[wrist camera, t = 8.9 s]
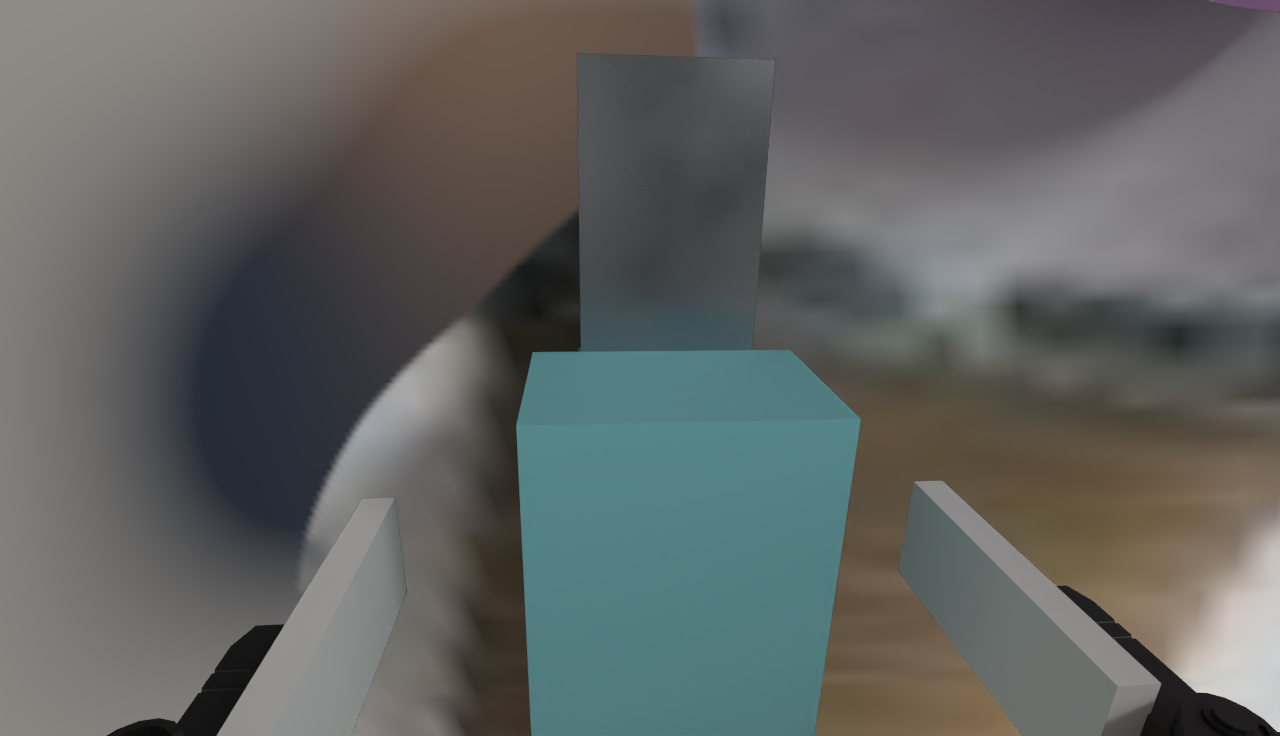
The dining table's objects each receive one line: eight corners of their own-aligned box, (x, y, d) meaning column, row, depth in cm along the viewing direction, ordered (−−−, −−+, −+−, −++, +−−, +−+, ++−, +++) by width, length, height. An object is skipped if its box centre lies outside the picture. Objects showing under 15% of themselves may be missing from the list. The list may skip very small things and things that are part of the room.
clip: (541, 313, 18) (515, 425, 11) (751, 312, 18) (861, 419, 11) (550, 607, 21) (536, 840, 14) (728, 598, 22) (801, 819, 14)
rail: (577, 74, 16) (576, 53, 12) (730, 79, 17) (775, 59, 13) (586, 725, 23) (587, 835, 20) (692, 718, 24) (714, 825, 20)
